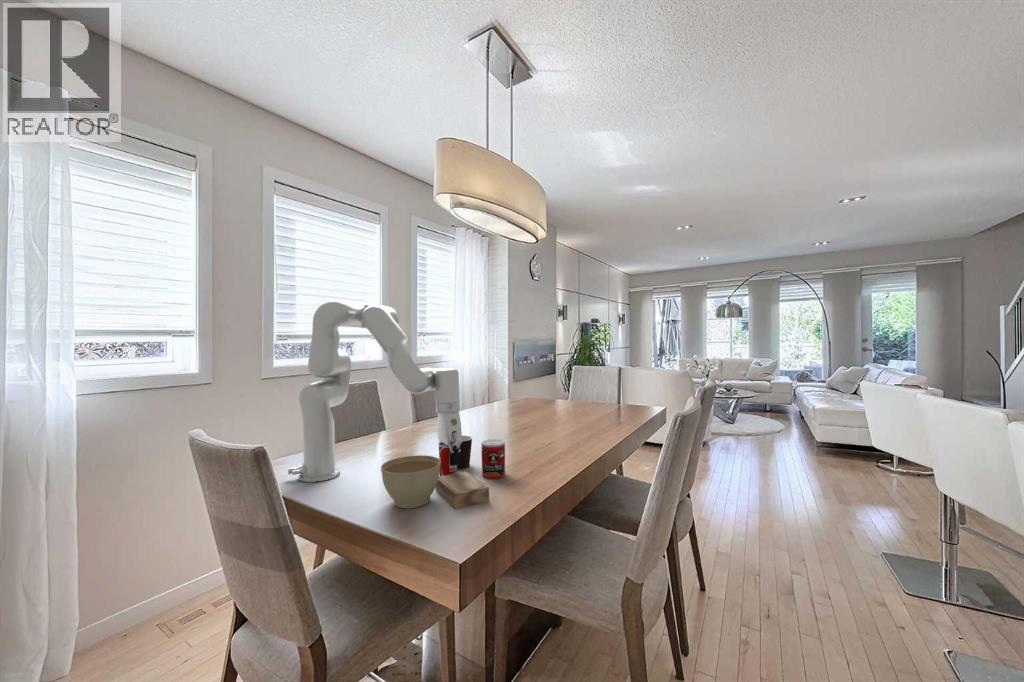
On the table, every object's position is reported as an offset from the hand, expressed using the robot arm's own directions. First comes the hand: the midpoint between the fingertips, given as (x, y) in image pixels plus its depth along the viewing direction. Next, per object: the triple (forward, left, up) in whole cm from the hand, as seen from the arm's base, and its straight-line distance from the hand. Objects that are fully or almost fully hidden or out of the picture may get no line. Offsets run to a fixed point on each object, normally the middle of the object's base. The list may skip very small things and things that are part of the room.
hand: (449, 461), depth 131 cm
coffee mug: (+10, +14, -7) cm, 18 cm away
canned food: (+15, -2, -7) cm, 16 cm away
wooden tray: (-1, -13, -7) cm, 14 cm away
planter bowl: (-15, -10, -7) cm, 19 cm away
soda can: (0, 0, -7) cm, 7 cm away
